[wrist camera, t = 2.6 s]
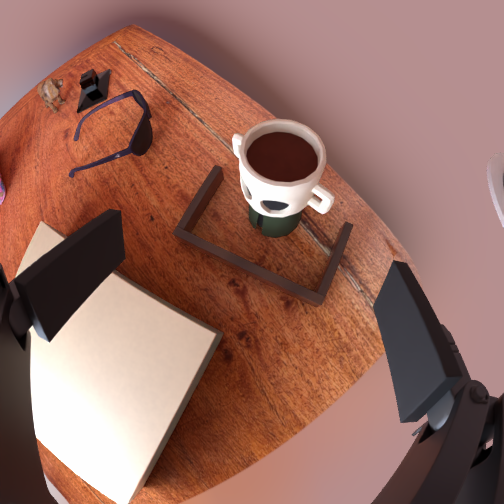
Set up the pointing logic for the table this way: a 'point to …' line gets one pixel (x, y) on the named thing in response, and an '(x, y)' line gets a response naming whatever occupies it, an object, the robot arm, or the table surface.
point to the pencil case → (2, 190)
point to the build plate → (93, 89)
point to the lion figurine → (51, 92)
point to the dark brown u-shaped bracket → (247, 267)
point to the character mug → (281, 174)
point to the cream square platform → (114, 378)
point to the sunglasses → (139, 139)
